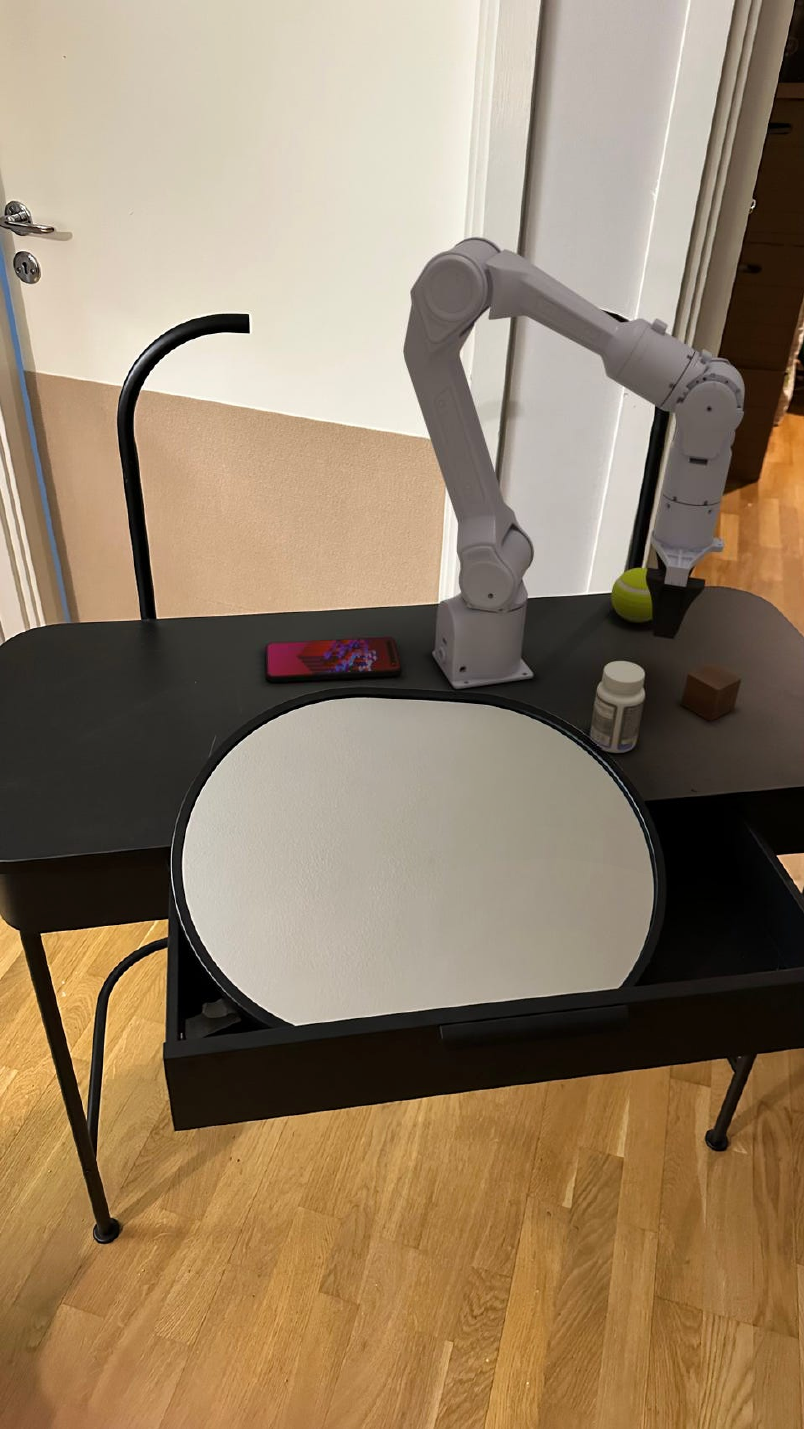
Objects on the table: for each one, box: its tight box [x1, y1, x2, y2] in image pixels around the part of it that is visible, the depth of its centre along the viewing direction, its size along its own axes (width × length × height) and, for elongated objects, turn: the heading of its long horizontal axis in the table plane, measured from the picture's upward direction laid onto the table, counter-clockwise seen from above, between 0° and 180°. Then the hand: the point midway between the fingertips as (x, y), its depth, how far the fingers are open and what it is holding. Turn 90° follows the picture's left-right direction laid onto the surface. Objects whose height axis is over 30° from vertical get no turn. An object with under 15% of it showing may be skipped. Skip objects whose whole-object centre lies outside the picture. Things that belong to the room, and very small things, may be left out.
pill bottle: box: [589, 660, 646, 754], centre depth 98 cm, size 5×5×8 cm
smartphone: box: [265, 636, 402, 683], centre depth 111 cm, size 8×1×15 cm
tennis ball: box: [610, 567, 652, 624], centre depth 121 cm, size 7×7×7 cm
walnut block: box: [680, 662, 742, 722], centre depth 105 cm, size 4×4×4 cm
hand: (665, 619), depth 102 cm, fingers open, 7 cm apart
